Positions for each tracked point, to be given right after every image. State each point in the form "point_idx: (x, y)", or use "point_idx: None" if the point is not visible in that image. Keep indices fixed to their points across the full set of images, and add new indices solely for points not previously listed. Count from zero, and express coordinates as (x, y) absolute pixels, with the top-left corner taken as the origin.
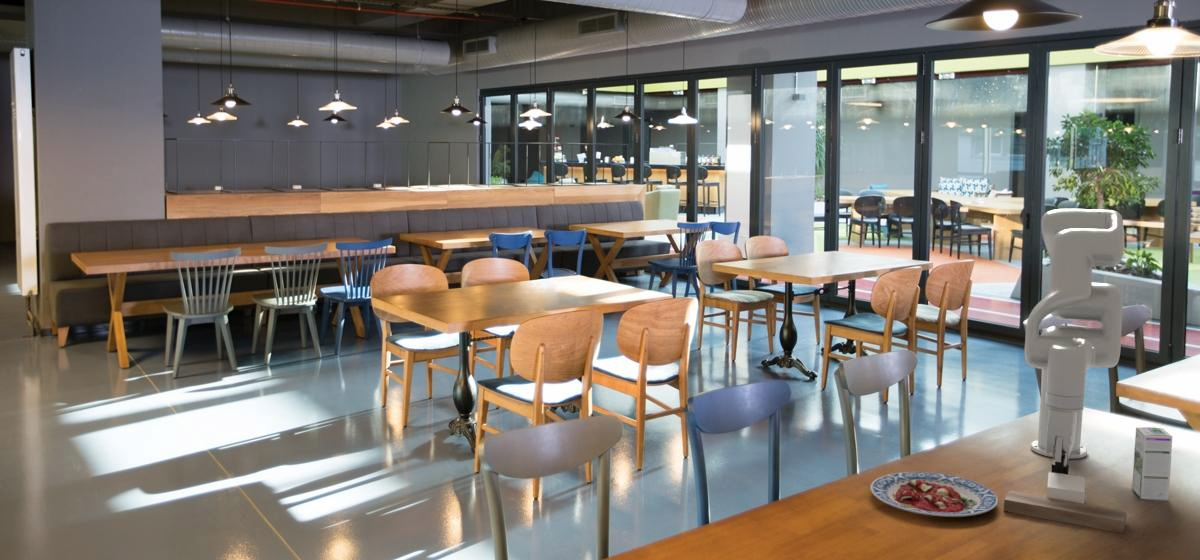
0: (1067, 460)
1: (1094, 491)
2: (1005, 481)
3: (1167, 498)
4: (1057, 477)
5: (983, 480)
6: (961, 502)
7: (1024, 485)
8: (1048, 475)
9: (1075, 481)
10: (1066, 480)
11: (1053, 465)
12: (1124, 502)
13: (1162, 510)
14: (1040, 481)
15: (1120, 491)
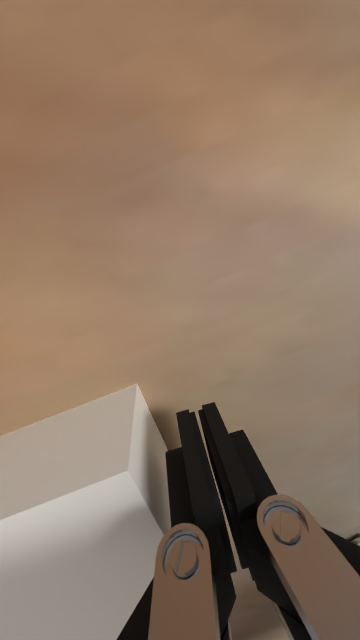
0: (283, 619)
1: (282, 478)
2: (146, 157)
3: None
4: (60, 548)
5: (53, 18)
6: None
7: (160, 267)
8: (50, 501)
9: (81, 619)
10: (52, 594)
11: (193, 512)
12: (236, 563)
13: (239, 627)
14: (269, 300)
15: (331, 519)
